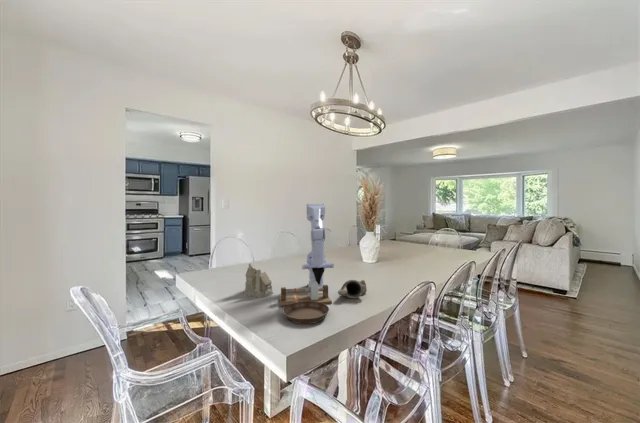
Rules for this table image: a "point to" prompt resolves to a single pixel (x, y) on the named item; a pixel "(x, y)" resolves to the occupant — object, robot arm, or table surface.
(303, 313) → the plant saucer
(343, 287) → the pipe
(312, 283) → the collar
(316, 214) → the robot arm
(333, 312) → the table surface
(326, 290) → the rod stand
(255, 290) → the ceramic cottage
